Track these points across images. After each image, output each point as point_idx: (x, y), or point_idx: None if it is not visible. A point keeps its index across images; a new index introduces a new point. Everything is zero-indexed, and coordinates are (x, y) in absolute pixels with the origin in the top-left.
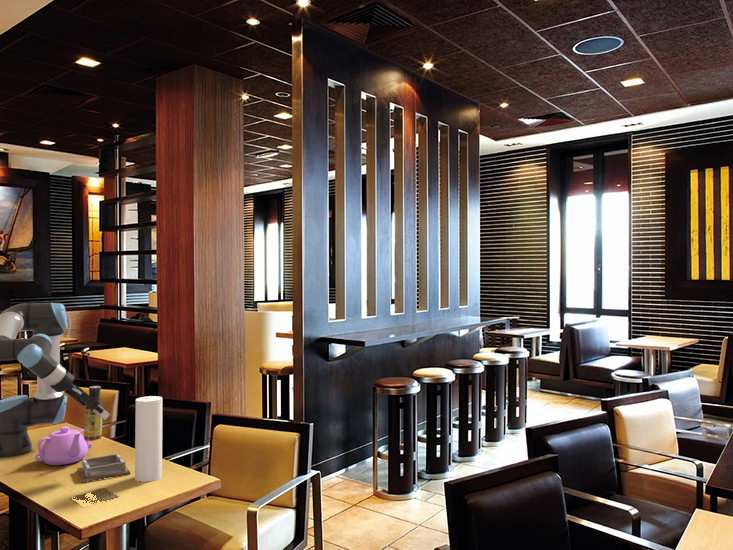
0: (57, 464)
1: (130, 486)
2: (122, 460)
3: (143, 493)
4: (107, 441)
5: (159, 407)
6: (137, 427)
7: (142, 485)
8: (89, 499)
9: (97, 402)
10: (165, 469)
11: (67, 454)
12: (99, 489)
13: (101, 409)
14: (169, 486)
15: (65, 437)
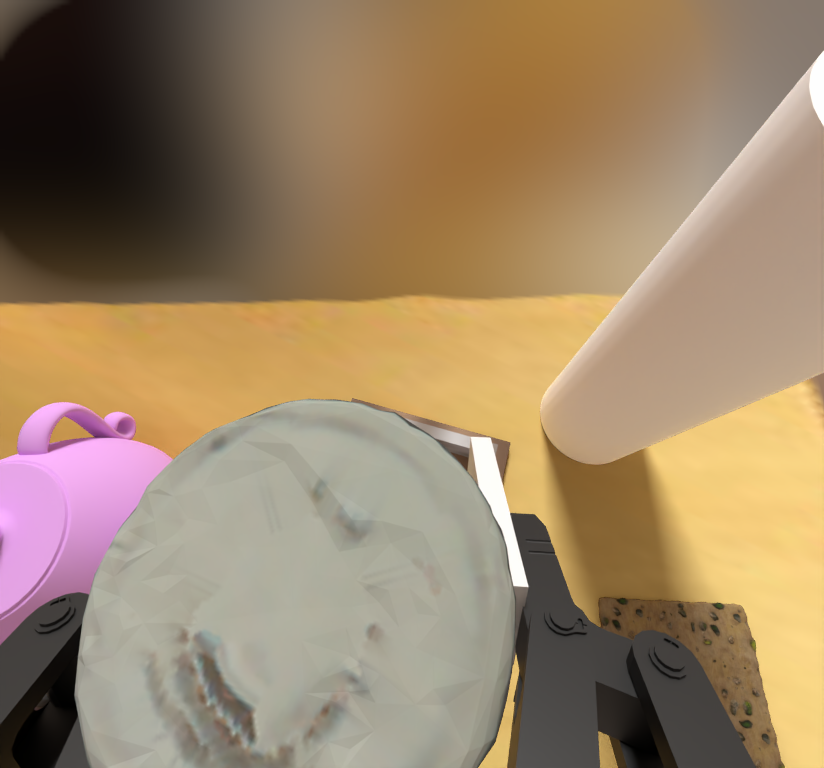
0: None
1: (643, 511)
2: (463, 439)
3: (754, 518)
4: (67, 312)
5: None
6: (770, 388)
7: (661, 475)
8: None
9: (713, 693)
10: (546, 338)
11: None
12: (614, 627)
13: (548, 548)
14: (735, 417)
15: (65, 571)
